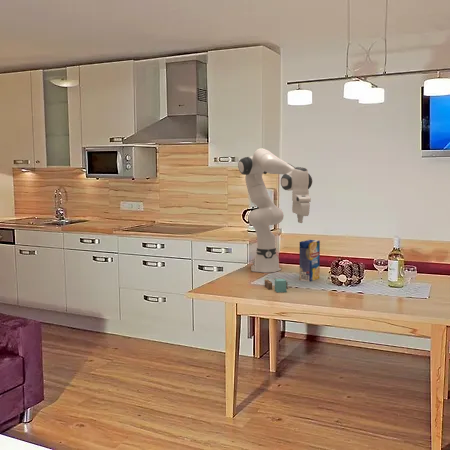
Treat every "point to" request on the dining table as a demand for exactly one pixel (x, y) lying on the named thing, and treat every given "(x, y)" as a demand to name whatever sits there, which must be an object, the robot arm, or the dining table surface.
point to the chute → (269, 285)
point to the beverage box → (309, 260)
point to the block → (280, 285)
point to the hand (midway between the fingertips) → (300, 222)
